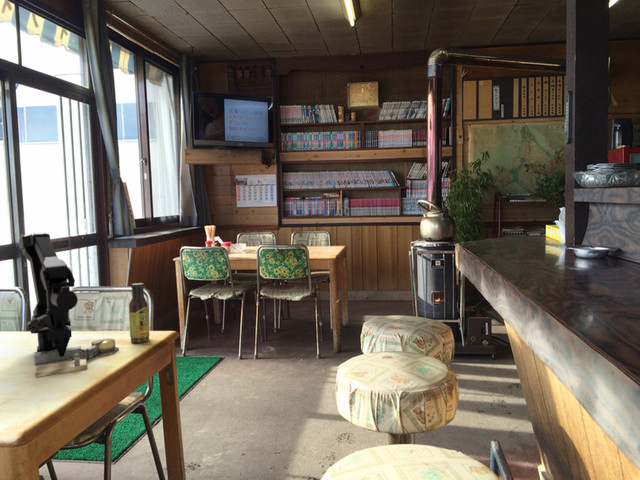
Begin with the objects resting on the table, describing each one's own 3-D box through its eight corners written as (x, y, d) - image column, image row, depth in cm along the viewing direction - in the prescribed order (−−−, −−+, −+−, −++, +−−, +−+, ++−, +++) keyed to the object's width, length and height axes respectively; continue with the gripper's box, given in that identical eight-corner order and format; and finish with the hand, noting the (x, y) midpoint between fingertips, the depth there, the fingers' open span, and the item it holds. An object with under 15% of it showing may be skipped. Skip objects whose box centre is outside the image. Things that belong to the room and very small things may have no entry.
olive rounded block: (100, 346, 164) (100, 337, 164) (119, 346, 163) (119, 337, 162) (73, 359, 151) (72, 349, 151) (93, 360, 149) (92, 350, 149)
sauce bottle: (143, 344, 167) (139, 285, 165) (126, 343, 168) (123, 285, 167) (153, 338, 173) (150, 282, 172) (137, 338, 175) (134, 282, 173)
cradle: (35, 377, 137) (34, 366, 137) (36, 370, 143) (35, 359, 143) (87, 368, 143) (86, 358, 143) (86, 362, 149) (85, 352, 149)
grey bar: (34, 364, 149) (34, 355, 148) (35, 361, 152) (34, 352, 152) (81, 356, 155) (81, 348, 154) (81, 353, 158) (80, 345, 158)
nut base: (87, 350, 162) (87, 349, 162) (117, 345, 166) (117, 345, 166) (89, 357, 154) (89, 356, 154) (120, 352, 158) (120, 351, 158)
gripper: (29, 303, 157) (33, 351, 158) (25, 314, 140) (29, 368, 142) (68, 299, 162) (72, 346, 163) (69, 309, 145) (73, 361, 147)
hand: (61, 355), depth 154 cm, fingers closed on grey bar, 3 cm apart
